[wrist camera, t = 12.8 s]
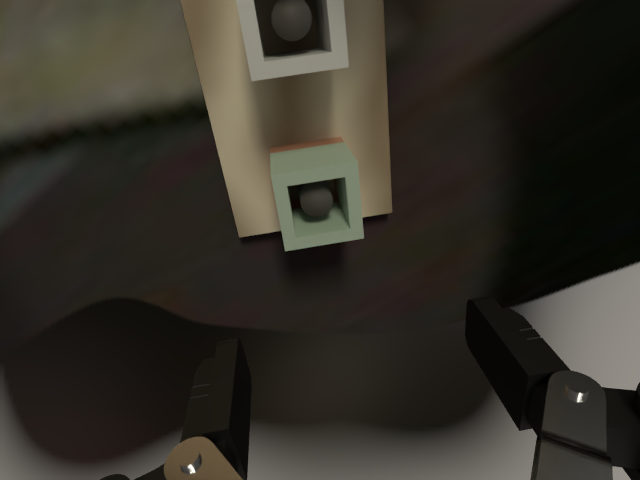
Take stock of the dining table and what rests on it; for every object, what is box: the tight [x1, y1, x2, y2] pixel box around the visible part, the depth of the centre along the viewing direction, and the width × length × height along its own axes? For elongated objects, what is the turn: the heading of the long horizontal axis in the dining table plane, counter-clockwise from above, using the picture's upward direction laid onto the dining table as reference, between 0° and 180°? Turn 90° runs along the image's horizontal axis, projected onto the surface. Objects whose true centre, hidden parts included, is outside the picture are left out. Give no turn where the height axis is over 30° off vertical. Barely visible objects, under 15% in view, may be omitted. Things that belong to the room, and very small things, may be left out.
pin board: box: [180, 0, 392, 238], centre depth 25 cm, size 12×18×6 cm, turn 7°
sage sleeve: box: [270, 137, 364, 251], centre depth 27 cm, size 5×5×6 cm
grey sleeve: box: [236, 0, 349, 81], centre depth 22 cm, size 5×5×6 cm
